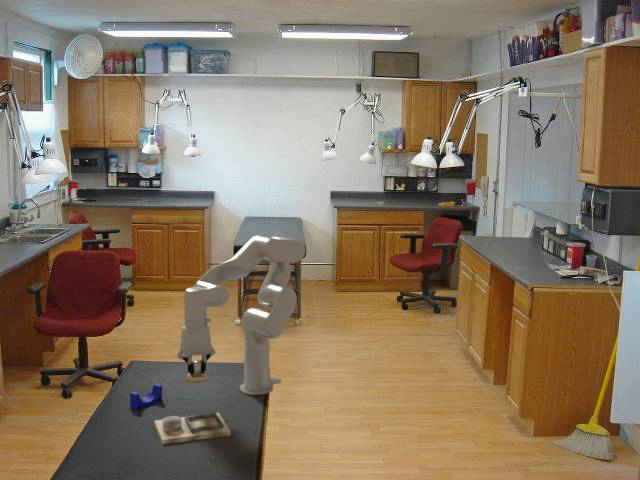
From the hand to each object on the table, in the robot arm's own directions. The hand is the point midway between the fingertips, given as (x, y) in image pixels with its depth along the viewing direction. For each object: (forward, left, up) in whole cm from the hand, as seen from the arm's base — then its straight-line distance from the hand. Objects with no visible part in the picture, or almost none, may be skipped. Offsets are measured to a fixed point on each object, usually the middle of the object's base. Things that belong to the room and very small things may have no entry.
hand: (196, 372), depth 266 cm
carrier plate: (+5, +17, -13) cm, 23 cm away
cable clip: (+17, -10, -14) cm, 24 cm away
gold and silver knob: (0, 0, -2) cm, 2 cm away
